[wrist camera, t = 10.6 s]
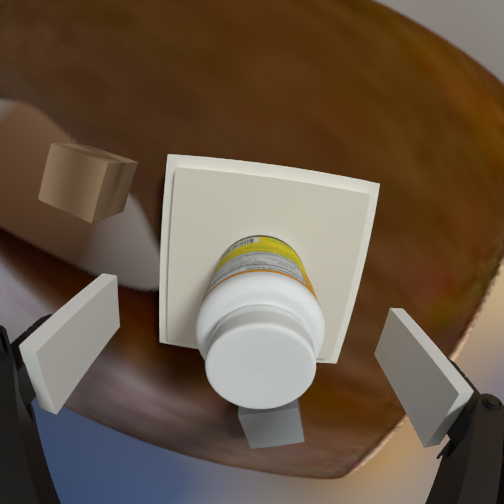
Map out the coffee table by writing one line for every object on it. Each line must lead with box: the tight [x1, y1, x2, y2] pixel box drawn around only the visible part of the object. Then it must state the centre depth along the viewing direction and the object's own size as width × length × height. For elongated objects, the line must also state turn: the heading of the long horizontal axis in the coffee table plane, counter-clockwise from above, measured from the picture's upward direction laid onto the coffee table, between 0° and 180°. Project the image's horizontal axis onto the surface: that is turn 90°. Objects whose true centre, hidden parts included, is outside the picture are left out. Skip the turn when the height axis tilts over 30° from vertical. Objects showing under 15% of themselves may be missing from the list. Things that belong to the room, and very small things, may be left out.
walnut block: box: [39, 143, 138, 224], centre depth 19 cm, size 5×4×5 cm
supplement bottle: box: [195, 235, 326, 409], centre depth 15 cm, size 6×6×10 cm
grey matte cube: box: [238, 398, 305, 449], centre depth 25 cm, size 5×5×4 cm
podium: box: [159, 154, 380, 363], centre depth 21 cm, size 14×14×3 cm
